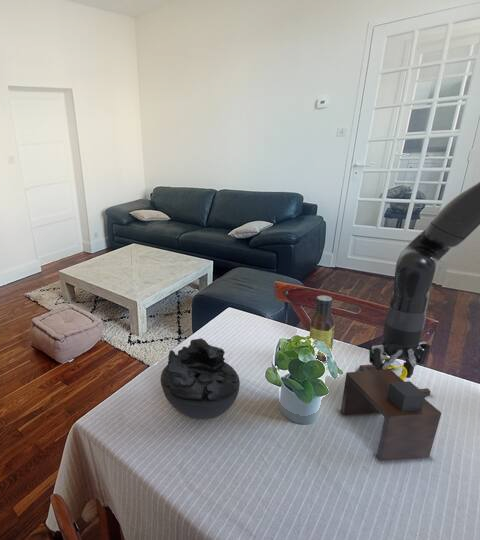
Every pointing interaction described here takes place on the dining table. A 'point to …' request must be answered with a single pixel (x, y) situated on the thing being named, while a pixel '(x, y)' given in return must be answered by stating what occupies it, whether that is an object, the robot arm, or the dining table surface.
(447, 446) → the dining table surface
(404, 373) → the watch
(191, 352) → the bowl of black rocks
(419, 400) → the charcoal block
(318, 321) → the sauce bottle
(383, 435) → the high shelf
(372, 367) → the low rack
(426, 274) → the robot arm
